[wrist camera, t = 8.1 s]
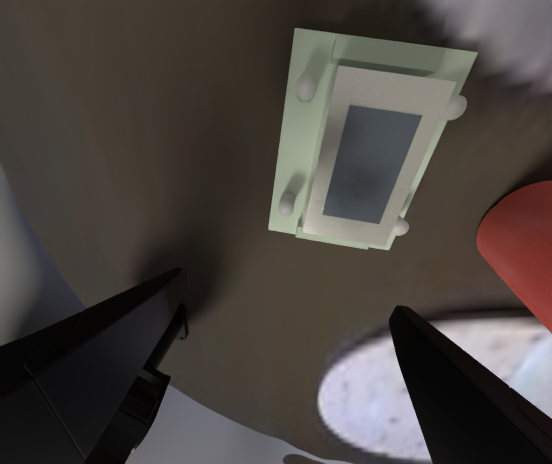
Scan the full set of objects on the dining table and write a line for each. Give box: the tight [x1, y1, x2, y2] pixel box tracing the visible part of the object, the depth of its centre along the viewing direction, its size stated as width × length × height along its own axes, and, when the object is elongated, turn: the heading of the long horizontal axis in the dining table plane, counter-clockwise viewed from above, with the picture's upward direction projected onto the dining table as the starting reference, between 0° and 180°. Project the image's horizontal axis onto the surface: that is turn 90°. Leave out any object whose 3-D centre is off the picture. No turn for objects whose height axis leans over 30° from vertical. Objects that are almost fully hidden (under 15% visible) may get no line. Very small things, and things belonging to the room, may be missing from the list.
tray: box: [268, 28, 478, 250], centre depth 15 cm, size 14×11×4 cm
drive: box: [302, 66, 457, 246], centre depth 14 cm, size 9×6×5 cm, turn 172°
